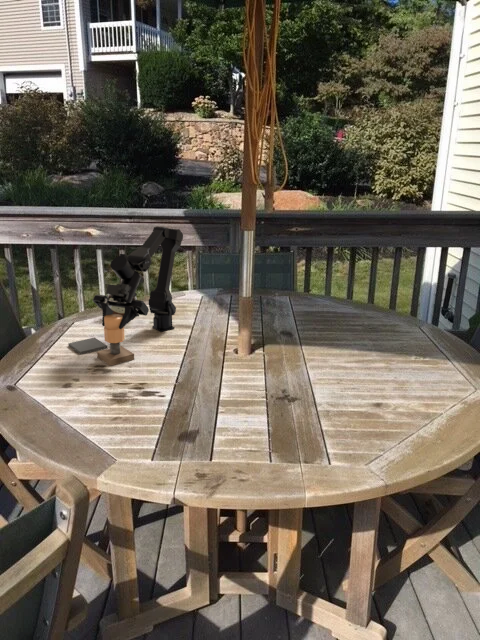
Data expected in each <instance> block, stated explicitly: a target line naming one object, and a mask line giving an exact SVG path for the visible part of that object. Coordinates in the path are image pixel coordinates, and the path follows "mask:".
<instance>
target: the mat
mask: <svg viewBox="0 0 480 640" xmlns="http://www.w3.org/2000/svg"><path fill="white" fill-rule="evenodd" d="M67 345H68V347H69V348H70V349H72V350H74V351H75V352H76V353H77V354H79V355H85V354H89V353H93V352H98V351H102V350H106V349H108V345H107V343H104V342H103V341H101V340H99V339H98V338H97V337H90V338H86V339H81V340H76V341H72V342H68V344H67ZM101 349H102V350H101Z"/></svg>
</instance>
